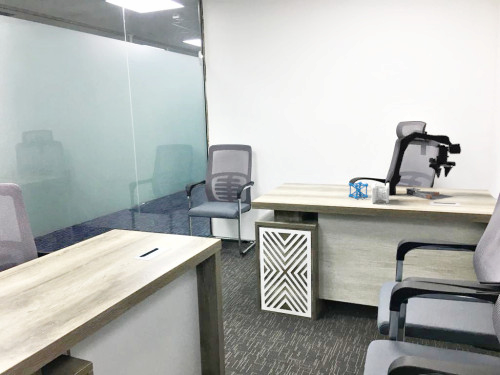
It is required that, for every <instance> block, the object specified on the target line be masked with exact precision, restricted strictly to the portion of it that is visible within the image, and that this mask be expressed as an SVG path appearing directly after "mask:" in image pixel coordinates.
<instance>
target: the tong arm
mask: <svg viewBox="0 0 500 375" xmlns="http://www.w3.org/2000/svg"><path fill="white" fill-rule="evenodd" d="M415 192H419V193H424V194H430V195H432V196H439V194H440V191H431V190H430V191H429V190H418V191H415Z"/></svg>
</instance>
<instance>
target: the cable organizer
mask: <svg viewBox="0 0 500 375" xmlns="http://www.w3.org/2000/svg"><path fill="white" fill-rule="evenodd" d="M385 183H386V182H385ZM370 188H371V203H372V204H375V203H376V201H385V203H386V204H389V203H390V196H389V183H386V184H385V185H377V183H376V182H372V184H371V187H370Z"/></svg>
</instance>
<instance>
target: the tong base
mask: <svg viewBox="0 0 500 375" xmlns="http://www.w3.org/2000/svg"><path fill="white" fill-rule="evenodd" d="M405 190H406V193H405V194H408V195H407V196H410V195H413V196H412V197H414V196H418V197H417V198H419V197H422V198H421V199H424V198H427V199H426V200H429V199H432V195H430V194H424V193H419V192H416V191H421V188H418V187H407V188H406V189H405Z"/></svg>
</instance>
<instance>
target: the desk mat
mask: <svg viewBox="0 0 500 375" xmlns="http://www.w3.org/2000/svg"><path fill="white" fill-rule="evenodd" d="M404 195H405V196H411V197H415V198H419V199H425V200H429V201H434V200H435V201H436V200H443V199H449V198H453V197H454V198H455V196H453V195H448V194H443V193H439V196H432V199H427V198H422V197H418V196H413V195H408V194H406V193H404Z"/></svg>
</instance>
